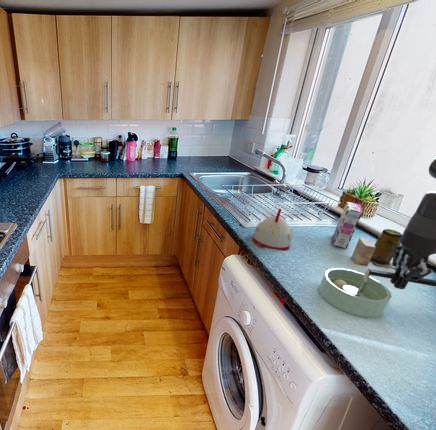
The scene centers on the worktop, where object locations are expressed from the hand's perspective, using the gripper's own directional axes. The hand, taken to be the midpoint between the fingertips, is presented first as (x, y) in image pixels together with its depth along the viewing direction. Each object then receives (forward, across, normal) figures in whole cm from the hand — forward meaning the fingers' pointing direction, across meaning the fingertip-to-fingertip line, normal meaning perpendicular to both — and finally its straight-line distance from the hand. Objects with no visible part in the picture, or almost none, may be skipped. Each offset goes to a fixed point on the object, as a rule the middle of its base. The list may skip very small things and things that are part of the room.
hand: (396, 285), depth 81 cm
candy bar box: (+9, +42, 0) cm, 43 cm away
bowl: (+9, 0, +9) cm, 12 cm away
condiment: (+9, +31, -10) cm, 34 cm away
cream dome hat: (+9, +31, +27) cm, 42 cm away
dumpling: (+8, +4, +11) cm, 14 cm away
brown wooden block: (+8, +27, -2) cm, 28 cm away
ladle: (+6, 0, +2) cm, 7 cm away
